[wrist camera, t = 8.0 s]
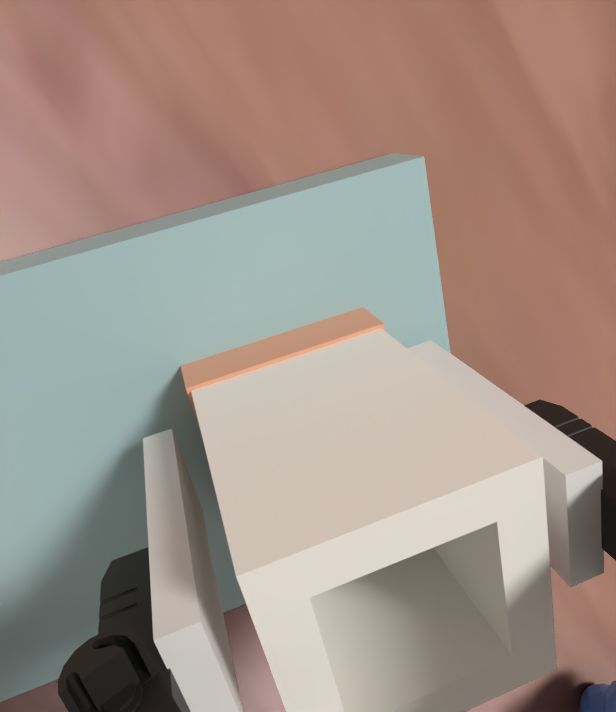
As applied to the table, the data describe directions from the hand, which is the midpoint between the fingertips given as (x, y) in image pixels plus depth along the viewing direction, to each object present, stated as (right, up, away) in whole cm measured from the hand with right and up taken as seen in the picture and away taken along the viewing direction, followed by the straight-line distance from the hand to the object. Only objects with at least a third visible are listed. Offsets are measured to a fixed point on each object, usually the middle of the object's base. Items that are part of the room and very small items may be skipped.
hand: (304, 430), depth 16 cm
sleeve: (0, 0, +1) cm, 1 cm away
